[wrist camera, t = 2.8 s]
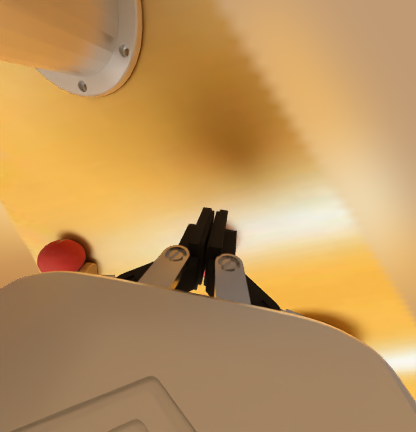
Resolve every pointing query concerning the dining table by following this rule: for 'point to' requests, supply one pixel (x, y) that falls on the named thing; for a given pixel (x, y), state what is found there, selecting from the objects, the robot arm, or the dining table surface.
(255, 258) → the dining table surface
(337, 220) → the dining table surface
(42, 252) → the kendama
